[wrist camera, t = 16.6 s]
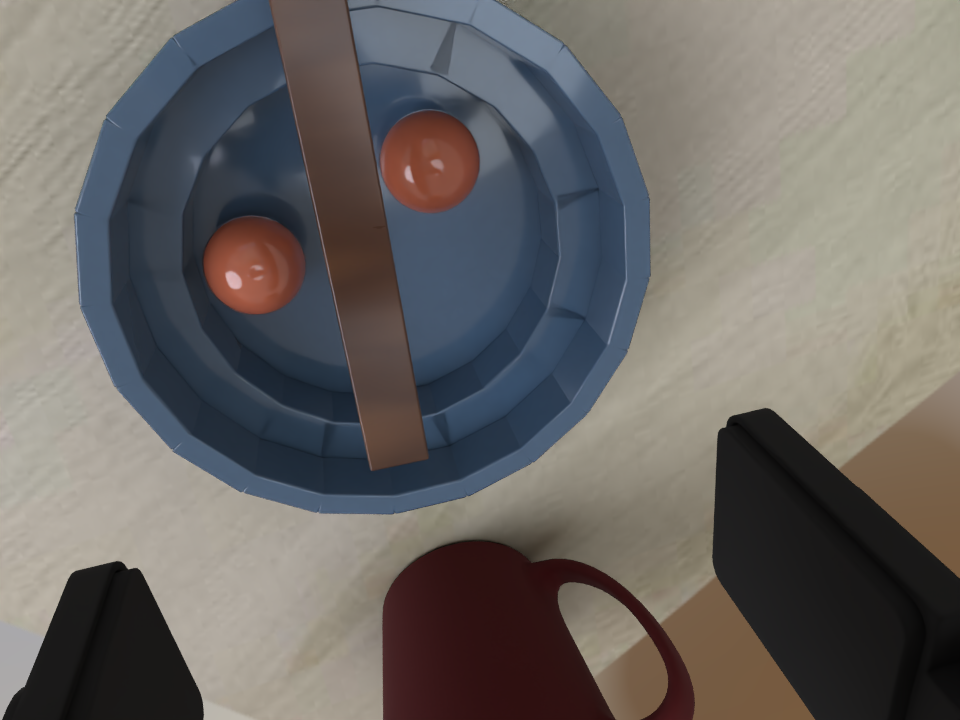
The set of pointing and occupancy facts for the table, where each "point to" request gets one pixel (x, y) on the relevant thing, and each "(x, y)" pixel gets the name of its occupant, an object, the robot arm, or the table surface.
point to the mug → (501, 641)
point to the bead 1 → (254, 264)
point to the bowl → (415, 246)
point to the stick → (351, 223)
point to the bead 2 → (429, 161)
